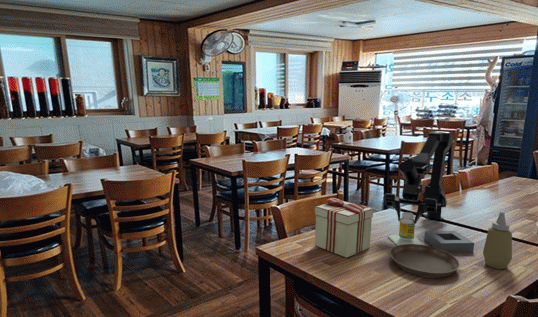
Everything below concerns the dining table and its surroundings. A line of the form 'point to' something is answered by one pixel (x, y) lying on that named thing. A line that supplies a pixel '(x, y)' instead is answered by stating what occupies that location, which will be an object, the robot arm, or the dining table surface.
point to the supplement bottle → (407, 226)
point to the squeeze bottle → (498, 244)
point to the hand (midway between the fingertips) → (406, 222)
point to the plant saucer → (424, 260)
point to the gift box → (343, 227)
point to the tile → (399, 241)
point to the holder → (449, 241)
